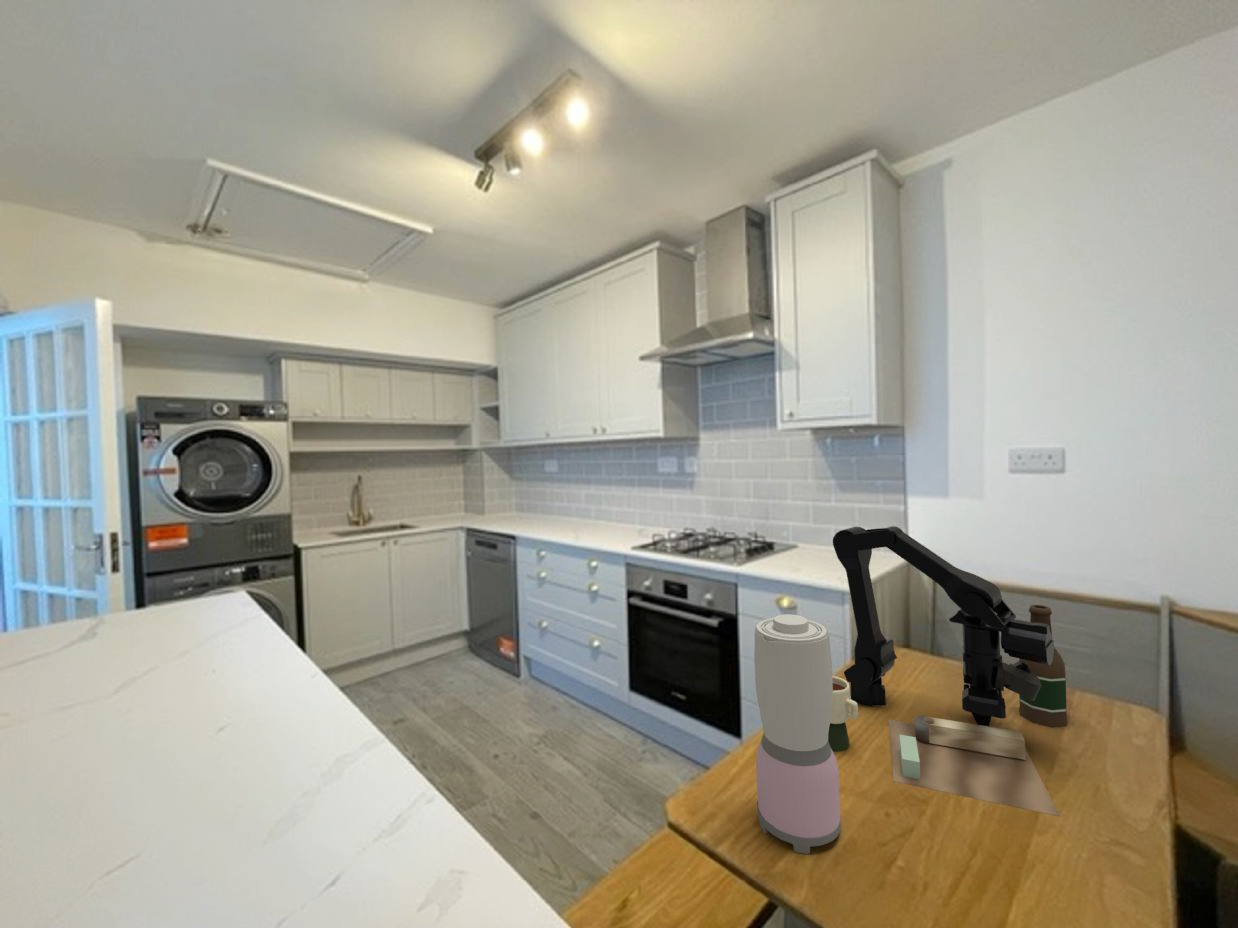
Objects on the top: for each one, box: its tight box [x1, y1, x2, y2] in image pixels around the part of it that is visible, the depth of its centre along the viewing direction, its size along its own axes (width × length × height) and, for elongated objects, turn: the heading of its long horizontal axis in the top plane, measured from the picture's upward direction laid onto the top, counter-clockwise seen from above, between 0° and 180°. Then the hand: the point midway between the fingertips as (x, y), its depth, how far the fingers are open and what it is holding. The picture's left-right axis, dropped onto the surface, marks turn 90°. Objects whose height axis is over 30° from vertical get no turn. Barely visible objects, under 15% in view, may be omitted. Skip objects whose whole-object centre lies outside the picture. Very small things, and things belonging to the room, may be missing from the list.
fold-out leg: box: [914, 715, 1026, 760], centre depth 94 cm, size 17×3×4 cm, turn 64°
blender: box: [753, 613, 842, 855], centre depth 80 cm, size 16×12×32 cm
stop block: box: [899, 734, 920, 780], centre depth 90 cm, size 3×8×3 cm, turn 154°
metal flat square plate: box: [887, 719, 1061, 817], centre depth 91 cm, size 22×21×2 cm
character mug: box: [828, 675, 859, 753], centre depth 98 cm, size 11×7×13 cm, turn 35°
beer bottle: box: [1018, 604, 1068, 729], centre depth 103 cm, size 8×8×24 cm
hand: (983, 730), depth 96 cm, fingers closed
